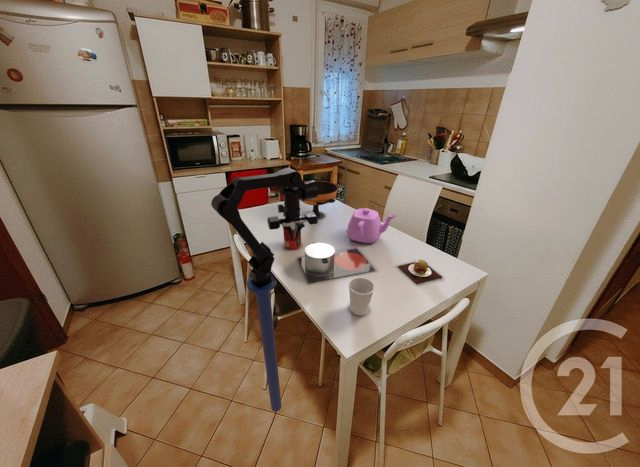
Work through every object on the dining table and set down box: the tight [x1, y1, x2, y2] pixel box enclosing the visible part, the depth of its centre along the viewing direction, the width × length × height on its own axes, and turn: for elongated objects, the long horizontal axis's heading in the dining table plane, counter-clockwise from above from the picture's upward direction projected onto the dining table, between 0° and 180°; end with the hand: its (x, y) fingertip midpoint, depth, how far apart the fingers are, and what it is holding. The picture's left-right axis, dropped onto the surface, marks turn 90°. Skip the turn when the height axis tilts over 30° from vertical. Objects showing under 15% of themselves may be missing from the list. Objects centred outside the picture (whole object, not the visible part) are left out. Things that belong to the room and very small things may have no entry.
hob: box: [297, 248, 376, 284], centre depth 111 cm, size 28×18×1 cm, turn 108°
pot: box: [304, 241, 336, 275], centre depth 107 cm, size 12×15×8 cm
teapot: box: [346, 207, 397, 244], centre depth 127 cm, size 23×21×15 cm
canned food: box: [282, 223, 302, 251], centre depth 122 cm, size 8×8×11 cm
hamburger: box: [397, 259, 443, 285], centre depth 105 cm, size 12×12×6 cm
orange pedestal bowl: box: [296, 180, 339, 220], centre depth 151 cm, size 36×26×18 cm
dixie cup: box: [347, 277, 376, 316], centre depth 85 cm, size 8×8×10 cm
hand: (293, 239), depth 105 cm, fingers closed
